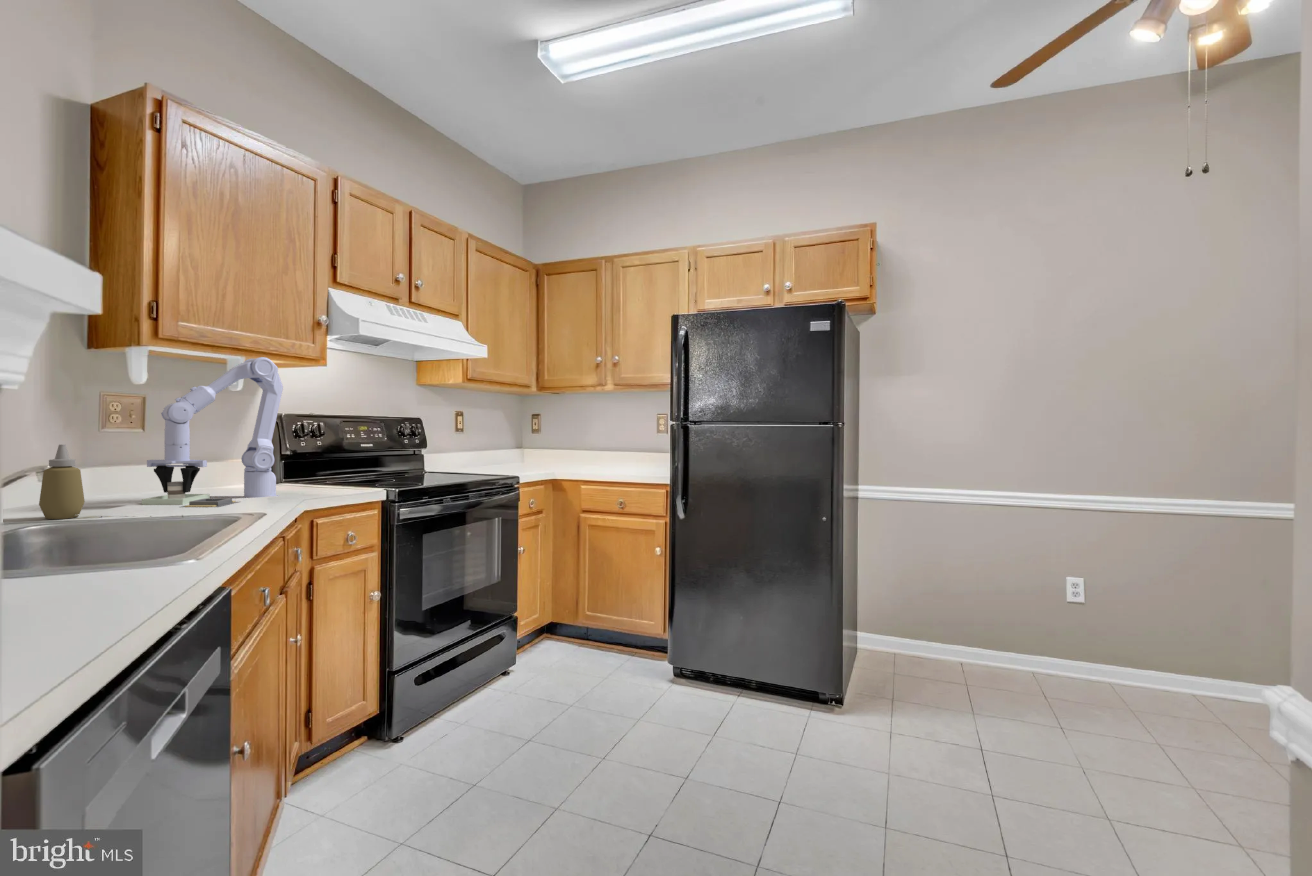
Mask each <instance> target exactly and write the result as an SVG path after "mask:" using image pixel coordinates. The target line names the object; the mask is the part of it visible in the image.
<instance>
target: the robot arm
mask: <svg viewBox="0 0 1312 876" xmlns="http://www.w3.org/2000/svg"><path fill="white" fill-rule="evenodd" d="M243 379H250V380H252V381H253V382H255V383H256V384H257V385H258V387H260V389H261V390H262V393H261V398H260V402H259V406H258V411H257V415H256V420H255V425H254V429H253V434H252V439H251V440H250V441H249V443H248V444H247V447H246V450H245V451H244V452H243V453H242V455H241V463H242V465H243V466H244V467H245V468H244V469H243V497H244V498H251V499H252V498H267V497H279V496H280V495H277V475H276V474H275V473H274V472H273V471H272V467H273V466H274V465H275V456H274V448H275V447H274V445H273V442H272V440H273V437H274V431H275V428H276V427H275V426H276V423H277V418H278V412H279V409H280V404H281V398H282V394H283V390H284V386H283V382H282V380H281V377H280V373H279V367H278V366H277V365H276V364H275V363H274V361H272V359H270V358H269V357H266V356H264V357H263V356H261V357H260V356H259V357H256V358H248V359H246V360H245V361H243V362H240V363H238V364H237V365H235V366H233V367H232V368H230V369H229V370H227V371H226V372H225V373H223V374H222V375H220V376H219V377H218V378H217V379H215V380H214V381H212V382H211V383H209V384H208V385H198V386H197V387H196V386H192V387H189V388H190V389H189V390H190V391H188V392H186V394H184V395H182V396H181V397H176V398H175V399H174V401H175V402H174V403H173V402H172V403H169V404H167V405H165V407H164V408H163V410H162V412H160V414H161V417H162V419H163V420H164V445H163V446H164V459H148V460H146V467H147V468H151V467H153V472H154V474H155V476H156V477H157V478H158V479H159V482H160V484H161V487H162V491H163V493H167V490H168V489H167V482H173V481H172V479H173V474H174V469H175V468H180V473H181V476H182V481H183V493H185V494H188V493H190V492H191V489H192V486H193V483H194V481H195V479H196V477H197V475H198V473H199V472H200V471H201V468H207V467H208V460H207V459H205V460H204V459H190V457H191V456H190V455H191V454H190V452H191V450H190V449H191V447H190V446H191V444H190V443H191V441H190V439H191V436H190V435H191V430H190V421H191V420H192V419H193V417H194V415H195V414H198V413H199V412H200V411H202V410H203V409H205V408H206V407H208V406H209V405H211V404H212V403H214V402H215V401H216V396H217V394H219V393H221V392H222V391H223V390H225V389H227V388H228V387H230V386H232V385H233V384H235V383H237V382H238V381H240V380H243Z"/></svg>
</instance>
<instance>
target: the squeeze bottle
mask: <svg viewBox="0 0 1312 876" xmlns="http://www.w3.org/2000/svg"><path fill="white" fill-rule="evenodd" d="M75 466H76V459H74V458H70V455H69V452H68V448H67V445H66V444H58V446H57V450H56V453H55V457H54V459H49V460H48V468H46V469H44V470H43V472H42V481H41V486H40V487H41V488H40V494H39V501H38V502H39V503H38V506H39V508H40V510H41V512H42V514H43V517H44V518H45V520H68V519H73V518H78V517H79V515H80V514H81V512H82V509H83V507H84V504H85V502H86V501H85V495H84V494H85V493H84V487H83V479H82V473H81V469H80V468H78V467H75Z"/></svg>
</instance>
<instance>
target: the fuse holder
mask: <svg viewBox="0 0 1312 876" xmlns="http://www.w3.org/2000/svg"><path fill="white" fill-rule="evenodd" d="M238 503H240V501H236V500H233V498H228V497H227V498H226V497H225V498H223V497H222V498H216V497H215V498H213V497H212V498H211V497H210V498H204V499H199V500H195V501H190V502H189V504H185V505H182V506H181V505H180V508H221V507H226V506H230V505H234V504H238Z"/></svg>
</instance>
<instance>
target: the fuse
mask: <svg viewBox="0 0 1312 876" xmlns="http://www.w3.org/2000/svg"><path fill="white" fill-rule="evenodd" d="M167 489H168V490H167V494H166V495H168V499H182V498H185V494H186V493H183V480H181V481H180V480H179V481H172V482H167Z"/></svg>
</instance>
